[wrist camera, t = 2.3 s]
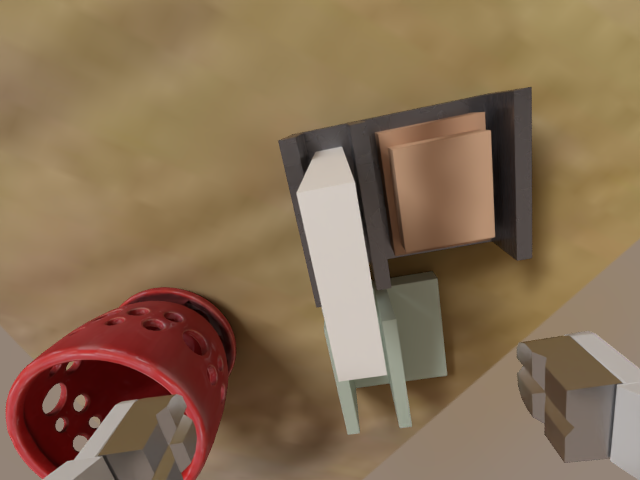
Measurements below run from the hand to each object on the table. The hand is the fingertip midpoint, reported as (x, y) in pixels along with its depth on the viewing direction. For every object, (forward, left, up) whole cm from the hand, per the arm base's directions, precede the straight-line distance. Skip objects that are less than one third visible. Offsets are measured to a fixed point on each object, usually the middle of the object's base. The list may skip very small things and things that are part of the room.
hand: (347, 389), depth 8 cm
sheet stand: (-2, +13, -21) cm, 25 cm away
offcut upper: (-7, 0, -18) cm, 19 cm away
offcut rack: (-5, 0, -21) cm, 22 cm away
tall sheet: (0, 0, -20) cm, 20 cm away
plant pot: (+17, +10, -22) cm, 29 cm away
